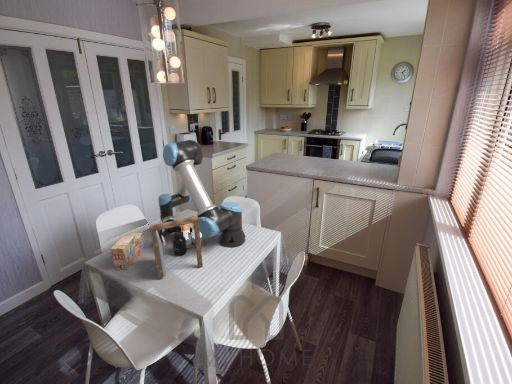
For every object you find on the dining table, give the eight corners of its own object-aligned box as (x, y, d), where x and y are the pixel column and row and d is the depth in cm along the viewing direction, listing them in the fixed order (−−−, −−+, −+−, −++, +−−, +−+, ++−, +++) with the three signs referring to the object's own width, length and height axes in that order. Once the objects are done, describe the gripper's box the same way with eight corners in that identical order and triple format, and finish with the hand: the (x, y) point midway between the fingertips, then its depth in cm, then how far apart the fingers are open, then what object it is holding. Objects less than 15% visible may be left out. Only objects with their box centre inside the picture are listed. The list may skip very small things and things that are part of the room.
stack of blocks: (134, 247, 153) (131, 227, 148) (145, 247, 152) (142, 227, 148) (115, 270, 133) (110, 248, 128) (127, 270, 132) (123, 248, 128)
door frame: (201, 264, 136) (197, 215, 126) (202, 267, 134) (198, 217, 125) (158, 277, 127) (149, 225, 118) (158, 279, 125) (150, 227, 116)
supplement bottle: (173, 257, 142) (171, 237, 138) (173, 250, 148) (171, 231, 144) (187, 255, 144) (185, 235, 140) (186, 248, 150) (184, 229, 146)
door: (156, 260, 139) (151, 229, 133) (161, 259, 140) (156, 228, 134) (160, 276, 127) (155, 242, 120) (166, 274, 128) (161, 241, 121)
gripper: (191, 225, 169) (200, 240, 152) (149, 234, 159) (154, 252, 141) (190, 214, 167) (199, 228, 149) (147, 223, 156) (152, 239, 138)
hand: (177, 240), depth 145 cm, fingers open, 13 cm apart
